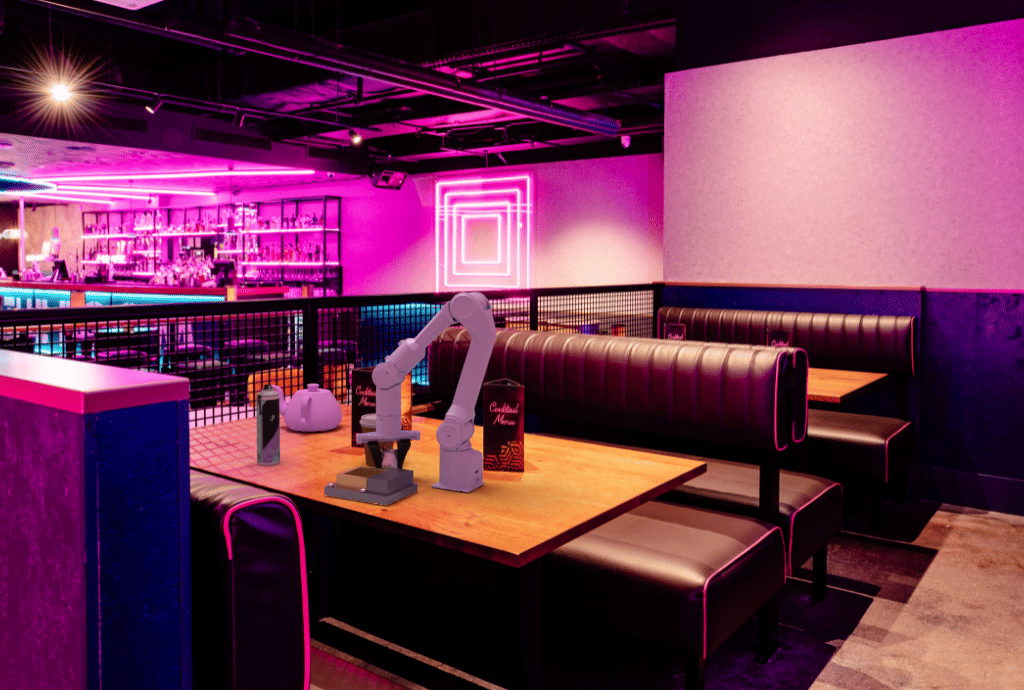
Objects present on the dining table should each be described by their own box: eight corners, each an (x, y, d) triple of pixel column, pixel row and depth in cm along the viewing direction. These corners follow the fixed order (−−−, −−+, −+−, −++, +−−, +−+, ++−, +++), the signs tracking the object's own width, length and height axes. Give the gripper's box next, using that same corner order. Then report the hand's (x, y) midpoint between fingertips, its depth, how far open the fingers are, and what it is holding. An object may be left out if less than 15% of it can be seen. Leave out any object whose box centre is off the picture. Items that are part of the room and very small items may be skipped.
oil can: (402, 479, 178) (402, 442, 177) (391, 483, 174) (391, 446, 173) (385, 476, 180) (385, 440, 179) (374, 481, 176) (374, 444, 175)
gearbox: (417, 491, 168) (417, 469, 167) (386, 506, 157) (386, 482, 156) (357, 482, 174) (357, 461, 174) (324, 495, 163) (324, 473, 163)
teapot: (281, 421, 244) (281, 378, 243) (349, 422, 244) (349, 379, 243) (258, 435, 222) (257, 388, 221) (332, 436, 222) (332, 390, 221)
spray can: (273, 466, 187) (272, 386, 185) (252, 465, 188) (251, 384, 186) (284, 461, 192) (283, 382, 191) (264, 459, 193) (263, 382, 192)
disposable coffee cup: (361, 468, 186) (361, 420, 185) (358, 459, 195) (358, 413, 194) (399, 467, 189) (400, 419, 188) (395, 457, 198) (395, 412, 197)
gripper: (415, 409, 181) (415, 465, 183) (354, 412, 176) (354, 469, 178) (422, 415, 175) (422, 472, 176) (359, 418, 170) (359, 477, 171)
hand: (388, 472), depth 176 cm, fingers closed on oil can, 4 cm apart
